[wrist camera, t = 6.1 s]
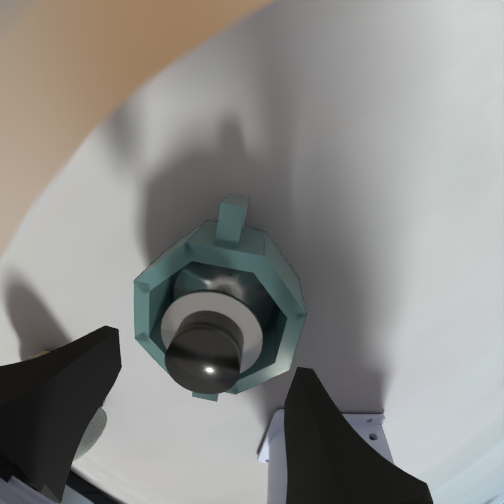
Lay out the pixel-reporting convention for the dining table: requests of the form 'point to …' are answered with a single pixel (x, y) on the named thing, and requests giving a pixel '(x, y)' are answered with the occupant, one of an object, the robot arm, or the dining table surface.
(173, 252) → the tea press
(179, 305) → the black and white knob
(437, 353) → the dining table surface
